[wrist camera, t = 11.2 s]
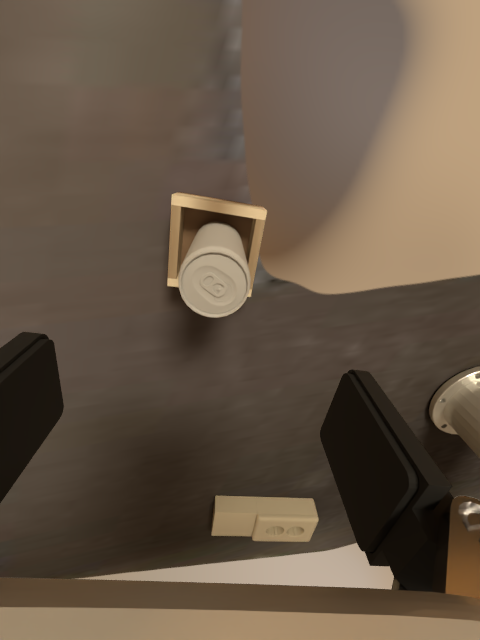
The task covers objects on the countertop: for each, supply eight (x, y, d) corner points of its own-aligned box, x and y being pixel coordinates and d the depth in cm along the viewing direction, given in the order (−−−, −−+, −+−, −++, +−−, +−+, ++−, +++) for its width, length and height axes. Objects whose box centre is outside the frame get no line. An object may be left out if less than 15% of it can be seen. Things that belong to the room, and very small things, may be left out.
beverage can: (221, 276, 30) (219, 332, 20) (184, 247, 29) (161, 290, 18) (251, 242, 29) (267, 282, 18) (214, 209, 27) (208, 231, 16)
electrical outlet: (214, 518, 46) (319, 520, 48) (215, 493, 50) (313, 496, 52) (211, 541, 50) (309, 542, 51) (212, 516, 53) (304, 518, 55)
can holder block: (261, 206, 28) (267, 210, 25) (247, 283, 32) (250, 296, 28) (178, 192, 27) (171, 194, 24) (174, 273, 31) (167, 285, 27)
